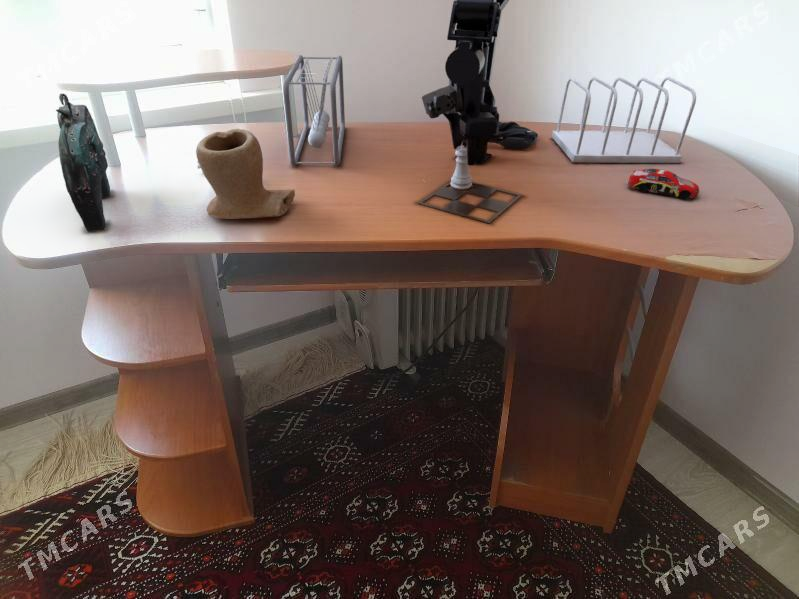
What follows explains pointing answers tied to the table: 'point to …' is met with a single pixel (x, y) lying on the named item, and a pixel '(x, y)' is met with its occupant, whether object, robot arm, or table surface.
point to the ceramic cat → (83, 163)
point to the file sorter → (620, 143)
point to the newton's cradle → (321, 117)
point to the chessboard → (465, 208)
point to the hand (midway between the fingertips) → (463, 156)
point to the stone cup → (238, 177)
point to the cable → (514, 136)
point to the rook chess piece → (461, 171)
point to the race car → (663, 183)
